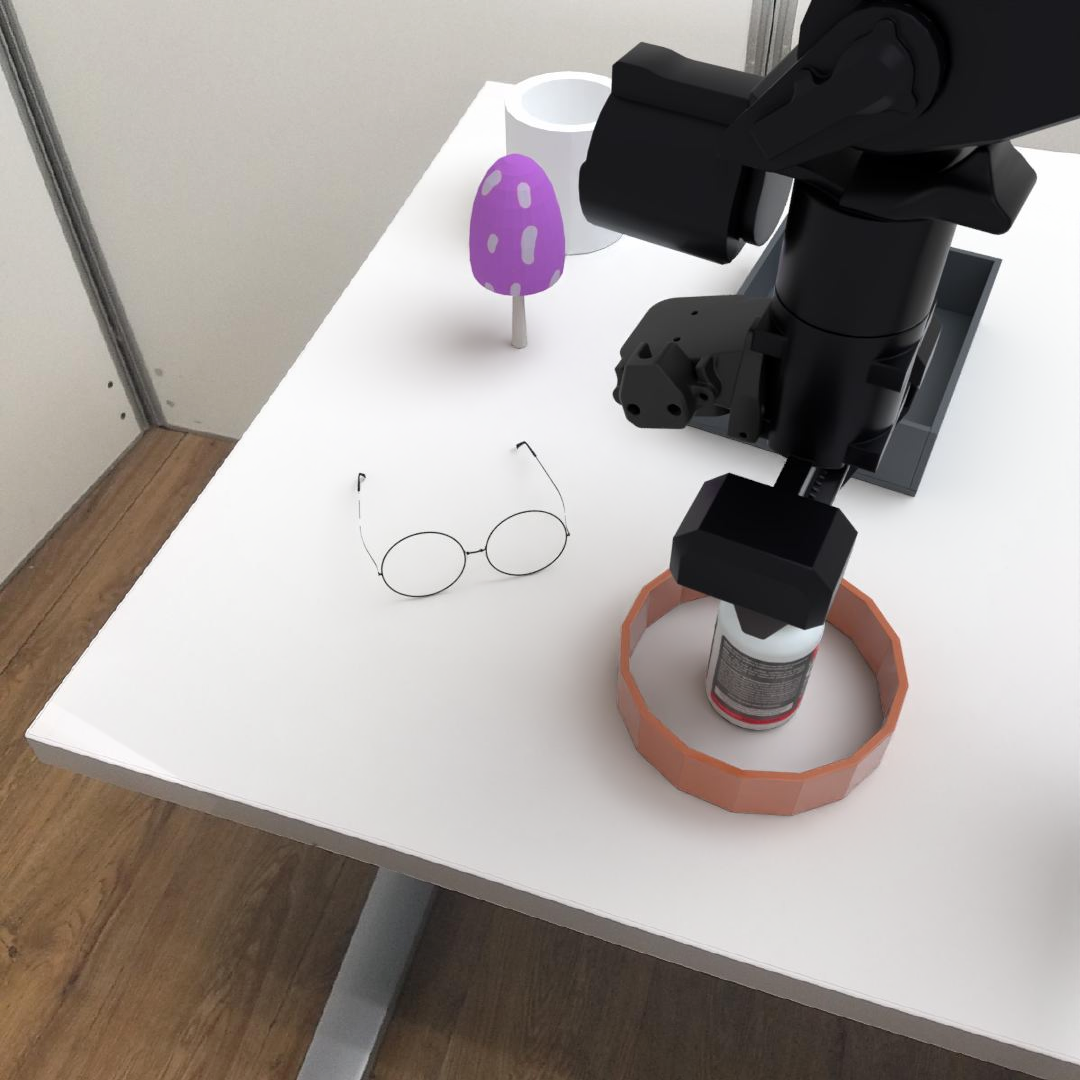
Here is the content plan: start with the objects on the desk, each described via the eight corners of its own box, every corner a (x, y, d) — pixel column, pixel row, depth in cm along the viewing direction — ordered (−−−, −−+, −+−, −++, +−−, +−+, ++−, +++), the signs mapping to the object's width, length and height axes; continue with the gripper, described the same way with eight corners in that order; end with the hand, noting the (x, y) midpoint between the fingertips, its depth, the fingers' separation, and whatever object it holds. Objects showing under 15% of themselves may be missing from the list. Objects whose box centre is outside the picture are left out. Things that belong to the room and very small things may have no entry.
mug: (541, 164, 98) (540, 47, 90) (649, 181, 96) (658, 63, 88) (492, 243, 89) (486, 121, 81) (609, 263, 87) (615, 140, 79)
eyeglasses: (348, 478, 71) (337, 422, 67) (531, 444, 73) (531, 387, 69) (376, 607, 63) (365, 552, 60) (578, 564, 66) (580, 509, 62)
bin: (980, 320, 82) (1003, 258, 78) (914, 497, 69) (937, 434, 65) (779, 268, 86) (791, 207, 82) (684, 424, 74) (692, 361, 70)
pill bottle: (817, 721, 58) (855, 610, 51) (723, 742, 57) (749, 632, 50) (779, 643, 61) (809, 529, 54) (690, 662, 61) (709, 548, 53)
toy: (463, 362, 79) (448, 175, 68) (491, 310, 83) (482, 126, 72) (549, 378, 77) (549, 191, 66) (574, 325, 82) (578, 140, 71)
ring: (919, 641, 61) (935, 603, 59) (847, 861, 53) (862, 829, 50) (676, 555, 66) (682, 516, 63) (573, 744, 57) (573, 708, 54)
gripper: (732, 135, 48) (698, 402, 59) (546, 375, 36) (549, 646, 48) (987, 191, 44) (897, 463, 56) (867, 475, 33) (787, 741, 45)
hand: (785, 564), depth 51 cm, fingers open, 9 cm apart
